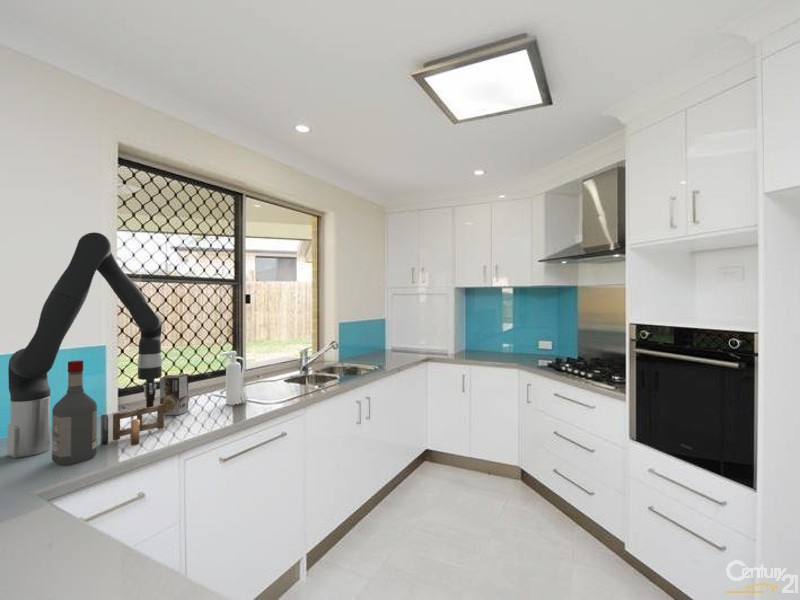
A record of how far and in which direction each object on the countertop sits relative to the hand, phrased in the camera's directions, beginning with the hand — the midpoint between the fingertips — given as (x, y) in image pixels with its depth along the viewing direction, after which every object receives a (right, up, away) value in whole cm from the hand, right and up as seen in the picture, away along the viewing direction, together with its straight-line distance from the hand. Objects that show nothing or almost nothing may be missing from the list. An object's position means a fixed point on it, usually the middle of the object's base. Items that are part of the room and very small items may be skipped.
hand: (149, 411), depth 144 cm
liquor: (-5, -7, -27) cm, 28 cm away
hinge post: (-6, -7, -14) cm, 17 cm away
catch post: (+4, -7, -14) cm, 16 cm away
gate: (0, -7, -6) cm, 9 cm away
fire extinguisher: (+15, -8, +39) cm, 42 cm away
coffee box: (-4, -7, +22) cm, 24 cm away
